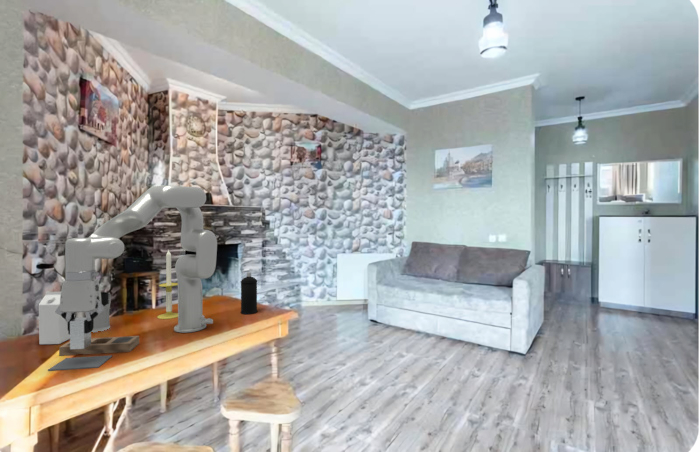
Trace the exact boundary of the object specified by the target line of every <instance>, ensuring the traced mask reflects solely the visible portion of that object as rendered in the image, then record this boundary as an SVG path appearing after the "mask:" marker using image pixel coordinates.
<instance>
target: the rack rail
mask: <svg viewBox="0 0 700 452" xmlns="http://www.w3.org/2000/svg"><path fill="white" fill-rule="evenodd" d="M138 345H140V335H128V336H107V337H106V336H105V337H91V345H89V346H88V347H86V348H84V349H70V340H68V341H67V342H66V343H63V344H62V345H61V346H59V347H58V348H59V349H58V352H59V353H58V356H59V357H60V356H61V357H62V356H63V357H65V356H64V355H66V356H79V355H78V354H83V355H98V354H111V353H112V354H114V353H115V354H116V353H130V352H131V351H132V350H134V349H135V348H136V347H137V346H138ZM76 354H77V355H76Z"/></svg>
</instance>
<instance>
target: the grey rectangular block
mask: <svg viewBox="0 0 700 452" xmlns="http://www.w3.org/2000/svg"><path fill="white" fill-rule="evenodd" d="M85 321H87V319H86V316H85V317H75V319H74V320H71V321H70V339H69V341H70V349H84V348H86V347H88V346H89V345H91V338H92V333H91V332H89V333H87V334H86V333H85Z"/></svg>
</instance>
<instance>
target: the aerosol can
mask: <svg viewBox="0 0 700 452" xmlns="http://www.w3.org/2000/svg"><path fill="white" fill-rule="evenodd" d="M239 282H240V314H242V315H252V314H253V315H254V314H256V313H258V279H256V278H255V277H253V276H252V272H250V271H249V272H246V277H243V278H242V279H241V280H240V281H239Z"/></svg>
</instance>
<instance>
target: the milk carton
mask: <svg viewBox="0 0 700 452" xmlns="http://www.w3.org/2000/svg"><path fill="white" fill-rule="evenodd" d="M60 296H61V291H45V295H44V297H43V298H42V299H41V301H40V302H39V304H38V332H39V333H38V338H39V339H38V341H39V342H38V343H39V345H60V344H62V343H64V342H66V341H69V340H70V334H68V322H66V321H65V319H64V318H63V317H62V316H61V315H59V314H57V313H55V311H56V309H57V308H58V307H59V305H60Z"/></svg>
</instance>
